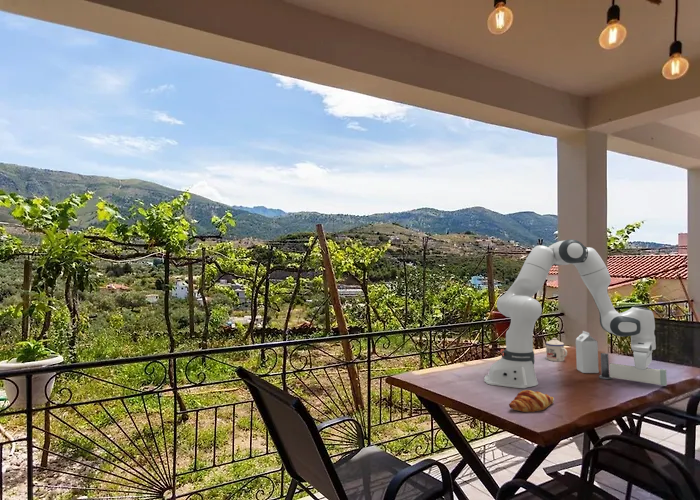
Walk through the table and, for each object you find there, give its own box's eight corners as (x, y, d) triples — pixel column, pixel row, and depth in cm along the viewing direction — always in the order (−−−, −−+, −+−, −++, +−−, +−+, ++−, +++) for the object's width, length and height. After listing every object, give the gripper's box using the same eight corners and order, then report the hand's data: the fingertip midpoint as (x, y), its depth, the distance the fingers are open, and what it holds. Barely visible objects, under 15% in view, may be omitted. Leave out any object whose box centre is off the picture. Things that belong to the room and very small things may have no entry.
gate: (609, 377, 189) (609, 362, 189) (610, 376, 190) (610, 362, 190) (666, 386, 174) (665, 370, 175) (666, 384, 176) (666, 369, 176)
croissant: (546, 410, 162) (538, 389, 166) (566, 405, 154) (557, 383, 158) (505, 418, 153) (497, 396, 157) (524, 413, 146) (515, 389, 149)
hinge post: (600, 379, 189) (599, 354, 189) (597, 376, 194) (596, 352, 194) (613, 380, 188) (612, 355, 188) (610, 377, 192) (609, 352, 193)
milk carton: (591, 369, 206) (590, 330, 206) (598, 373, 199) (597, 333, 199) (576, 369, 207) (575, 330, 207) (583, 373, 200) (581, 333, 200)
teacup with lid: (542, 358, 230) (541, 337, 230) (554, 357, 233) (554, 336, 233) (560, 363, 219) (559, 341, 219) (573, 361, 222) (572, 339, 222)
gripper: (638, 339, 193) (639, 369, 193) (630, 347, 178) (631, 379, 178) (655, 341, 189) (656, 372, 189) (648, 348, 174) (649, 382, 173)
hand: (644, 375), depth 183 cm, fingers closed
